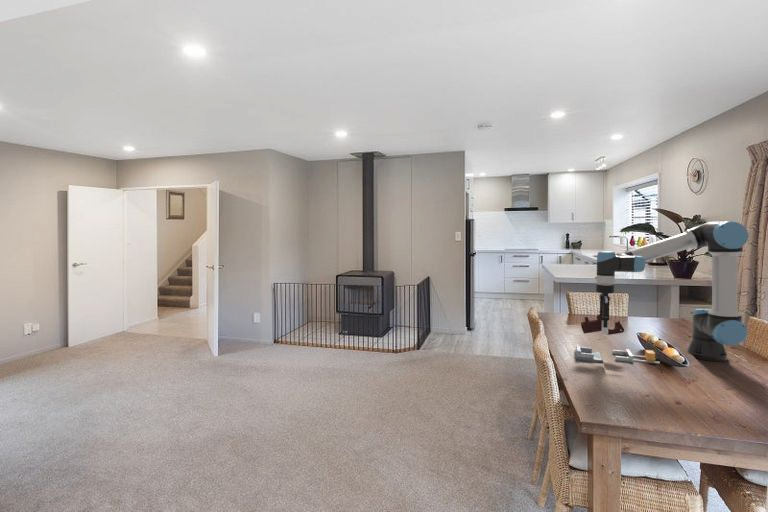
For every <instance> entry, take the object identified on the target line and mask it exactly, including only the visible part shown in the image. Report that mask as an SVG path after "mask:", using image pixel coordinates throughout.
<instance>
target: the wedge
mask: <svg viewBox="0 0 768 512" xmlns="http://www.w3.org/2000/svg"><path fill="white" fill-rule="evenodd" d="M644 356H645V358H644V359H645V360H646V361H656V359H655V357H656V352H655V351H654V350H651V349H645V350H644Z"/></svg>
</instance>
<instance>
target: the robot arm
mask: <svg viewBox="0 0 768 512" xmlns="http://www.w3.org/2000/svg"><path fill="white" fill-rule="evenodd" d="M749 237H750V236H749V232H748V229H747V228H746V226H744V225H743V224H742V223H740V222H737V221H732V220H721V221H720V220H719V221H718V220H717V221H716V220H713V221H708V222H705V223H702V224H700V225H696V226H694V227H692V228H689V229H686V230H685V231H684V232H683V233H680V234H677V235H674V236H670V237H668V238H664V239H662V240H658V241H656V242H652V243H649V244H646V245H643V246H640V247H636V248H634V249H631V250H628V251H624V252H621V253H620V252H617V253H616V252H615V251H610V250H609V251H608V250H607V251H606V250H605V251H604V250H603V251H598V252H597V256H596V276H595V277H594V279H596V281H595V282H596V284H595V291H596V293H599V312H598V313H599V314H601V315H602V319H601V320H602V330H601V331H600V332H601V334H602V335H607V334H608V329H609V323H610V301H611V297H610V296H609V294H613V293H615V281H616V280H615V278H616V275H615V272H616V273H617V272H620V273H622V272H623V273H642V272H643V271H644V270H645V268H646V262H650V261H653V260H656V259H659V258H663V257H666V256H669V255H672V254H676V253H679V252H683V251H685V250H688V249H693V250H696V249H701V248H704V247H707V253H709V254H710V255H711V256H712V257H711V259H712V260H711V262H712V267H711V268H712V269H711V271H712V272H711V274H712V278H711V280H712V282H711V284H712V286H711V289H712V290H711V291H712V293H711V302H712V303H711V308H696V309H694V310H693V311H692V312H693V313H692V331H691V332H692V333H691V334H692V335H691V340H690V343H689V345H688V347H687V348H686V353H688V354H690V355H691V356H693V358H695V359H698V360H704V361H709V362H725V361H728V353H727V350H726V347H725V346H730V347H731V346H737V345H740V344H741V343H742V342H745V340H746V338H747V335H748V329H747V326H746V325H745V324H744V323H743V322H742V321H743V315H742V313H741V312H739V310H738V277H739V276H738V274H739V271H738V269H739V267H738V266H739V265H738V263H739V258H738V257H739V256H740V255H741V254H742V253H743V247H744V246H745V245H746V244H747V242H748V241H749Z"/></svg>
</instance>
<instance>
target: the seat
mask: <svg viewBox="0 0 768 512" xmlns="http://www.w3.org/2000/svg"><path fill="white" fill-rule="evenodd" d="M574 354H575V361H580V360H582V361H581V362H590V361H591V363H592V362H593V363H600V364H602V363H604V360H603V358H602V355H601V352H600V351H594V350H593V348H592V347H585V346H580V344H576V345H575V349H574ZM612 355H615V357H614V359H615V361H616V362H626V363H634V362H637V363H638V362H639V363H646V364H648V363H649V364H658V365H659V364H660V362H661V361H656V360H657V357H656V358H655V361H646V359H645V355H634V354H633V353H632V352H631V350H630V349H629V348H625V350H621V349H620V350H618V349H612ZM619 355H620V356H619ZM635 358H638V359H635ZM639 358H640V359H639ZM642 359H643V360H642ZM644 359H645V360H644Z"/></svg>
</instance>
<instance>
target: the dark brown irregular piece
mask: <svg viewBox="0 0 768 512" xmlns="http://www.w3.org/2000/svg"><path fill="white" fill-rule="evenodd" d="M601 319H602V315H601V314H600V313H599V314H596V319H593V320H590V319H589V317H588V316H584V319H583V320H584V321H581V322H580V326H581V331H582V333H583V334H590V333H598V332H601V330H602V320H601ZM622 333H625V328H624V327H623V325H622V324H621V322H620V320H618V321H616V322H614V327H613V329H611V328H610V329H609V328H608V334H606V335H607V336H610V335H615V334H617V335H618V334H622Z"/></svg>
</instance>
